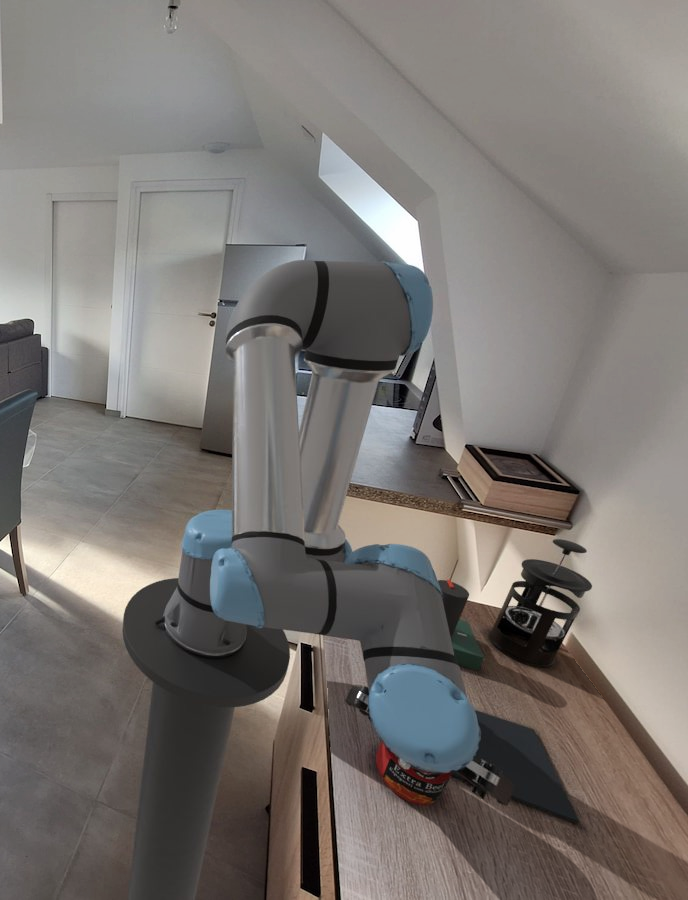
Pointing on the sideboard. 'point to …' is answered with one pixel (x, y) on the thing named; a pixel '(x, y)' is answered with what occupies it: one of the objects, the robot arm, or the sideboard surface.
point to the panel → (466, 646)
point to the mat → (522, 765)
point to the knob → (453, 602)
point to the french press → (539, 610)
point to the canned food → (409, 779)
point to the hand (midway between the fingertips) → (421, 743)
